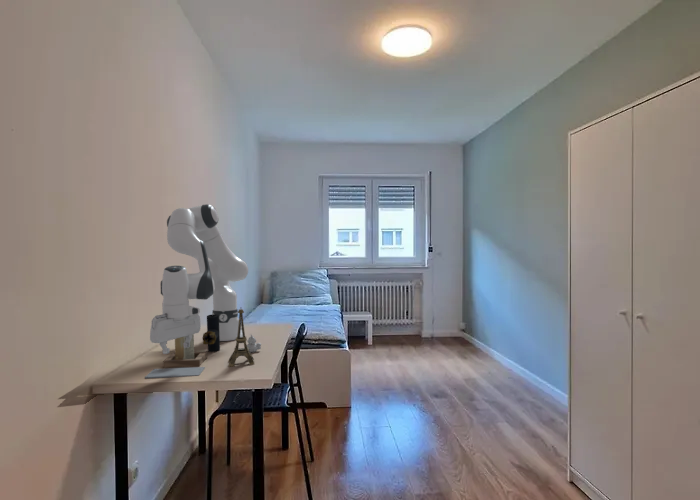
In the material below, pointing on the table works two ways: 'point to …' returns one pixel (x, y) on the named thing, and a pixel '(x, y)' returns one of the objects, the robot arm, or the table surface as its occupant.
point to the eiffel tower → (239, 339)
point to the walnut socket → (184, 361)
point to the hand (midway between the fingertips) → (176, 350)
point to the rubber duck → (253, 345)
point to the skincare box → (184, 349)
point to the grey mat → (175, 372)
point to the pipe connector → (212, 333)
